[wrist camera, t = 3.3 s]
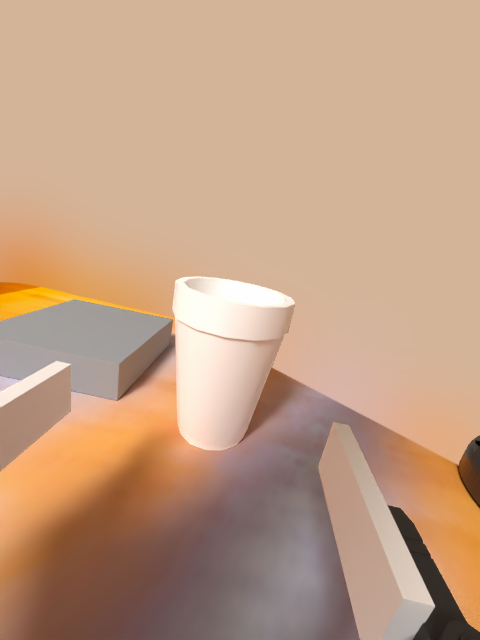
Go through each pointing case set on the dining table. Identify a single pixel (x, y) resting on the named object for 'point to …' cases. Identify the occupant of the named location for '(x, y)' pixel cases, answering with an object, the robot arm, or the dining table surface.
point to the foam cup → (224, 355)
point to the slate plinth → (84, 345)
